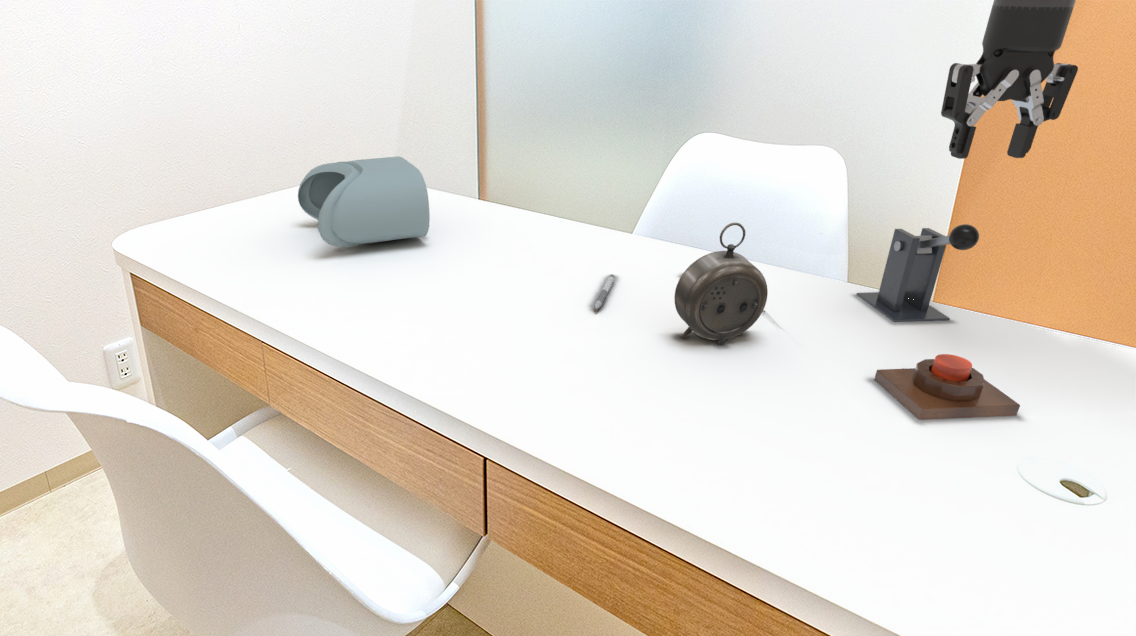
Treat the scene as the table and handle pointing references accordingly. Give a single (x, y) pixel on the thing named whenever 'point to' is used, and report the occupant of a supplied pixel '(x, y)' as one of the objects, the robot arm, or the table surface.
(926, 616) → the table surface
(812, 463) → the table surface
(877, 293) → the switch bracket
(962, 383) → the switch block
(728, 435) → the table surface
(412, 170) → the grey hollow curved shell
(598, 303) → the pen
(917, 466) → the table surface
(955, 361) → the button
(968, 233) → the lever
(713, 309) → the alarm clock
